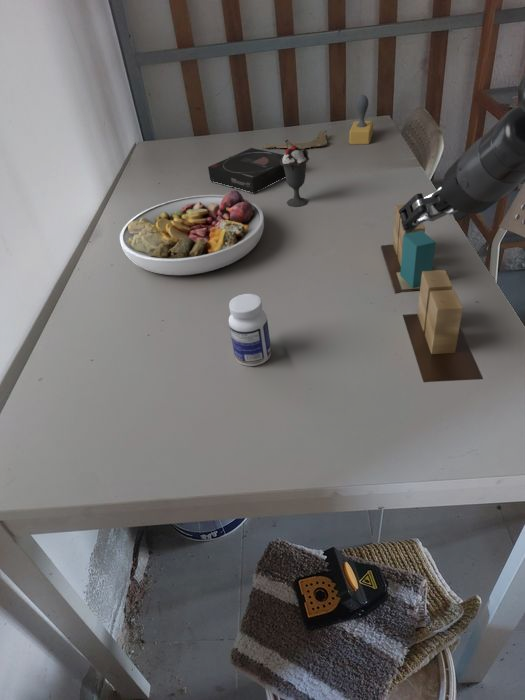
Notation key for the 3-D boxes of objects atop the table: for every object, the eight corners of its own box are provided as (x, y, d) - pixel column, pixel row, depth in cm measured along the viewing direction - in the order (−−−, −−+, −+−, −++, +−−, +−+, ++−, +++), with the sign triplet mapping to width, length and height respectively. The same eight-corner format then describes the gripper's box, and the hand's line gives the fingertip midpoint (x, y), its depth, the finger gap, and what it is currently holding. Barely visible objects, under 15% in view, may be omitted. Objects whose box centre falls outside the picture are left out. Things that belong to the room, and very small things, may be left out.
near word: (452, 314, 83) (460, 267, 78) (482, 382, 71) (494, 332, 65) (402, 317, 84) (406, 271, 78) (422, 385, 71) (429, 336, 66)
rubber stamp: (369, 144, 149) (370, 99, 142) (349, 144, 151) (349, 100, 143) (372, 133, 156) (374, 90, 149) (353, 133, 158) (354, 90, 150)
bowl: (186, 300, 94) (177, 262, 89) (99, 255, 112) (87, 221, 107) (294, 235, 110) (292, 200, 105) (203, 204, 127) (197, 173, 122)
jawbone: (337, 146, 152) (337, 139, 150) (270, 160, 149) (269, 153, 148) (326, 135, 158) (326, 128, 157) (262, 148, 155) (261, 142, 154)
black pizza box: (298, 171, 138) (297, 156, 136) (254, 194, 129) (252, 178, 127) (254, 161, 148) (253, 147, 145) (210, 181, 139) (208, 166, 136)
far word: (421, 244, 102) (426, 202, 96) (443, 292, 88) (449, 247, 83) (380, 247, 102) (382, 206, 97) (395, 295, 89) (398, 250, 83)
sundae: (279, 207, 121) (274, 142, 112) (287, 196, 126) (283, 132, 117) (306, 209, 119) (303, 142, 110) (314, 197, 124) (311, 132, 115)
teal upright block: (417, 271, 93) (421, 230, 88) (430, 283, 89) (435, 241, 84) (400, 275, 92) (403, 234, 87) (412, 288, 89) (416, 246, 84)
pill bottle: (251, 339, 83) (243, 287, 77) (279, 351, 80) (273, 298, 74) (227, 359, 80) (217, 306, 74) (255, 372, 77) (247, 318, 71)
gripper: (527, 134, 67) (464, 189, 83) (426, 156, 65) (382, 207, 81) (545, 189, 66) (478, 233, 82) (443, 212, 64) (395, 253, 80)
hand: (431, 220), depth 81 cm, fingers open, 8 cm apart
